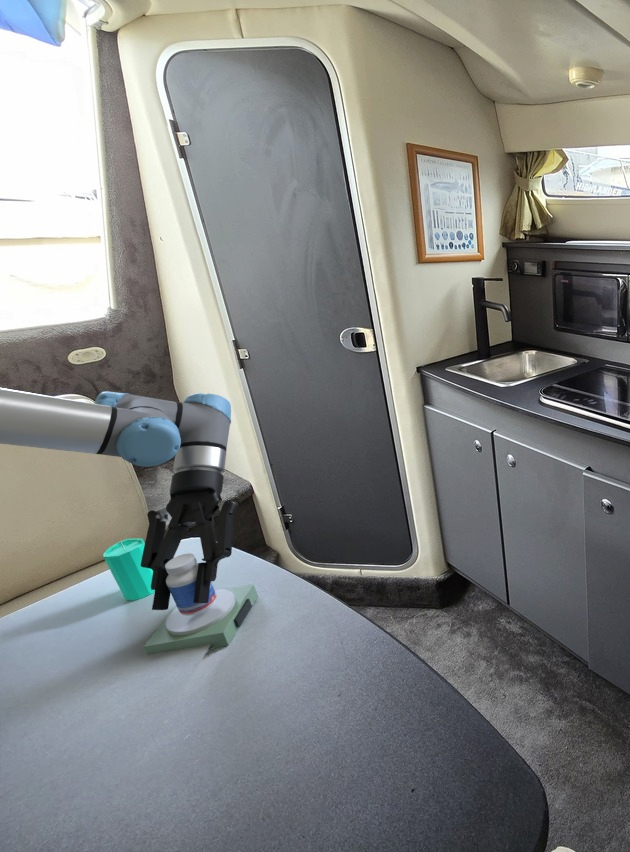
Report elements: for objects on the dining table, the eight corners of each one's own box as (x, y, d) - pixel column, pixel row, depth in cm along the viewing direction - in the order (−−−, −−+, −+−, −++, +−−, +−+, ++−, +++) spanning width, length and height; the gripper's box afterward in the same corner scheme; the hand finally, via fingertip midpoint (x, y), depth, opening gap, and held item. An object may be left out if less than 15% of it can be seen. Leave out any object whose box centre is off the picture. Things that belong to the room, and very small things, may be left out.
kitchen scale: (149, 659, 83) (141, 643, 82) (189, 607, 94) (182, 592, 93) (231, 645, 85) (224, 628, 84) (260, 595, 96) (254, 580, 95)
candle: (145, 600, 96) (120, 550, 92) (115, 600, 97) (89, 551, 92) (170, 578, 102) (148, 530, 97) (142, 579, 102) (119, 531, 98)
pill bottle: (220, 603, 88) (202, 560, 84) (183, 621, 84) (162, 576, 81) (213, 589, 92) (195, 546, 88) (177, 606, 88) (157, 562, 84)
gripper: (263, 472, 97) (252, 597, 88) (157, 486, 94) (134, 616, 85) (242, 461, 90) (228, 595, 82) (127, 475, 87) (99, 616, 78)
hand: (180, 605), depth 83 cm, fingers closed on pill bottle, 5 cm apart
